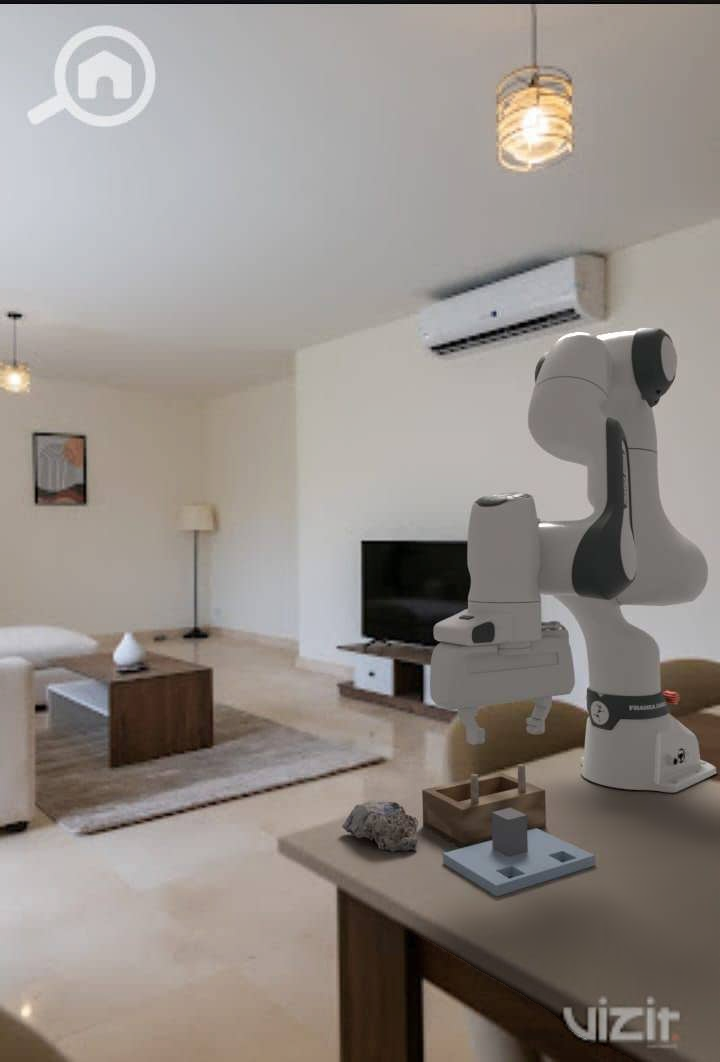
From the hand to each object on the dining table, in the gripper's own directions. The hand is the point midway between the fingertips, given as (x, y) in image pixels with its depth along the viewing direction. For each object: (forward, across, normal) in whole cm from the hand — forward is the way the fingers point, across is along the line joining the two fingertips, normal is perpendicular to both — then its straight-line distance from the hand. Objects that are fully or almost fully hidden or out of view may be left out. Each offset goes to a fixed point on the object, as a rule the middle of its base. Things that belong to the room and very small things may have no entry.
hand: (506, 738), depth 91 cm
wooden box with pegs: (+15, -4, -10) cm, 18 cm away
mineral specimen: (+15, +10, -14) cm, 22 cm away
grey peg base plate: (+15, 0, +1) cm, 15 cm away
